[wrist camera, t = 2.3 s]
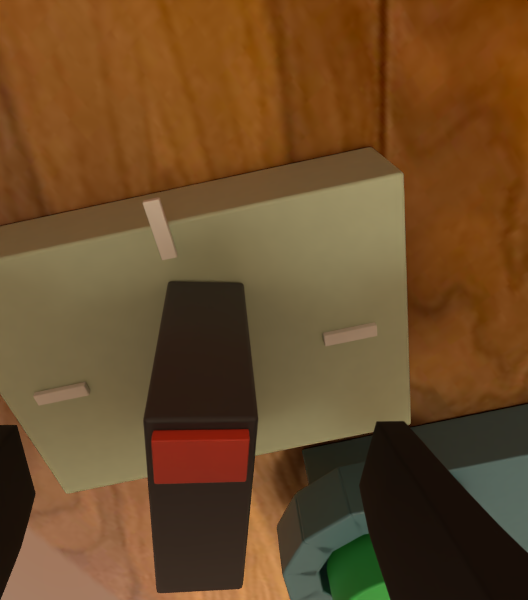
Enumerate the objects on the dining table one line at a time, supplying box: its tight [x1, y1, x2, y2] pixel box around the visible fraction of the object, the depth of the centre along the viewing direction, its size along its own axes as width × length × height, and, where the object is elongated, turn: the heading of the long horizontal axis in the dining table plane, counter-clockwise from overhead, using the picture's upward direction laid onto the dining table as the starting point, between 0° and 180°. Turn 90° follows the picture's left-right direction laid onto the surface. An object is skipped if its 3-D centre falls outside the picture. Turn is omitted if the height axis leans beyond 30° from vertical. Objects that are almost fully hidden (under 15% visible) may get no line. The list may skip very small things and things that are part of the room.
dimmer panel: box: [0, 147, 411, 493], centre depth 13 cm, size 11×9×3 cm
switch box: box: [277, 404, 528, 600], centre depth 19 cm, size 18×14×4 cm
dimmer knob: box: [143, 281, 258, 593], centre depth 10 cm, size 5×2×5 cm, turn 176°
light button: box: [327, 534, 390, 600], centre depth 15 cm, size 4×4×2 cm
